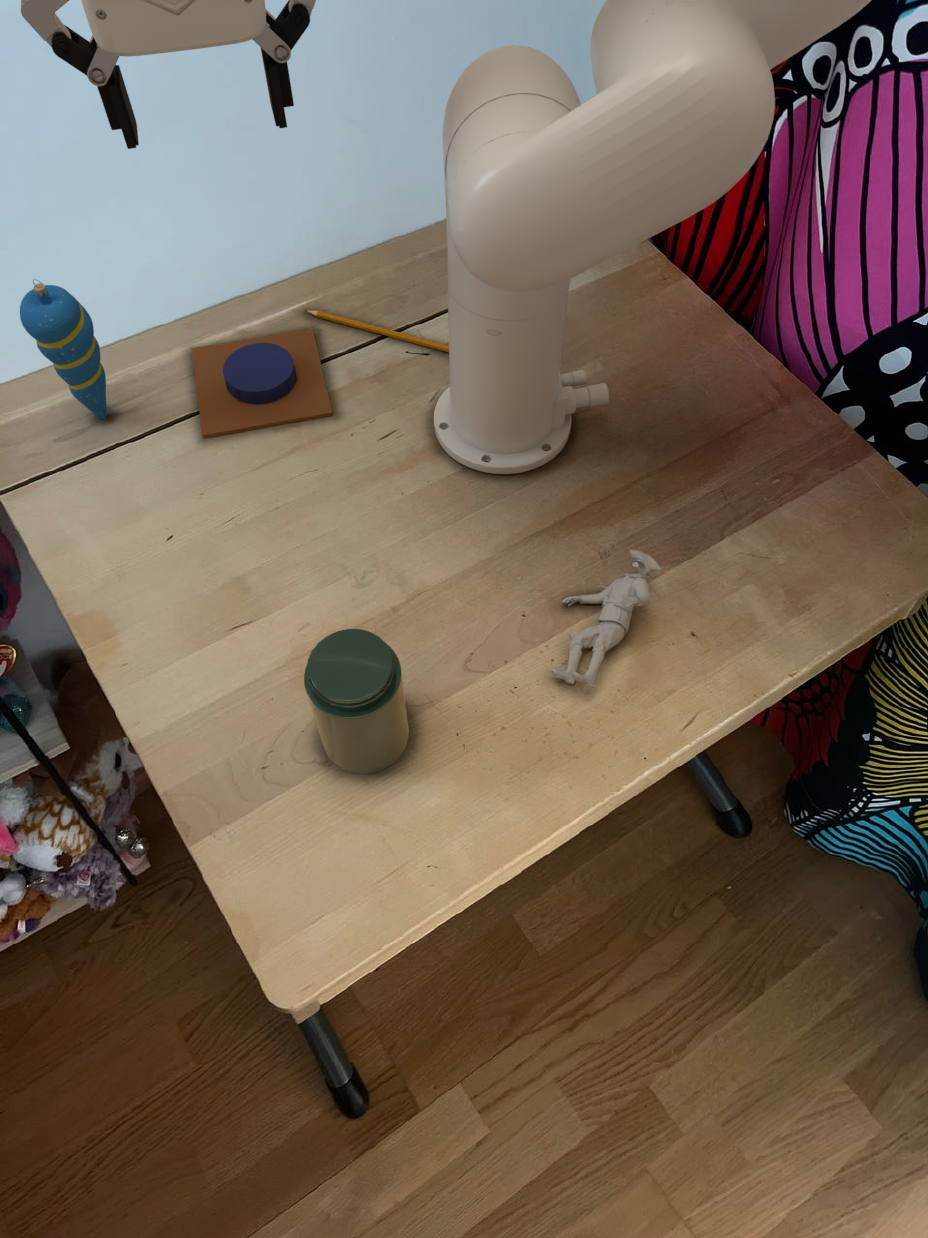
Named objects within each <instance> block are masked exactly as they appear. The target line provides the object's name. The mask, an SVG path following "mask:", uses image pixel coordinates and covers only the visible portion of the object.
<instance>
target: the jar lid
mask: <svg viewBox="0 0 928 1238" xmlns="http://www.w3.org/2000/svg"><path fill="white" fill-rule="evenodd" d="M223 375H224V378H225V383H226V387H227V390H228V392H230V394H231V395H232V396H233V397H235V398H236V399H238V400H239V401H242V402H245V403H249V404H265V403H270V402H273V401H276V400H278V399H280V398H282V397H284V396H285V395H287V394H288V393H289V392H290V391H291V390H292V388H293V387H294V385H295V382H296V379H297V376H296V370H295V365H294V361H293V358H292V356H291V354H290V353H289V352H288V351H287V350H286V349H284V348H282V347H280V346H278V345H275V344H270V343H255V344H250V345H247V346H244V347H241V348H239V349H238V350H236V351H234V352H233V353H232V354H231V355H230V356H229V357H228V358H227V359H226V361H225V363H224V366H223Z"/></svg>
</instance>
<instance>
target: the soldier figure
mask: <svg viewBox="0 0 928 1238" xmlns="http://www.w3.org/2000/svg"><path fill="white" fill-rule="evenodd" d="M628 551H629V554H630V557H631V564H632V567H633V568H634V570H635V571H636V573H628V572H626V573H622V574H621V575H619V577H618V578H617V579H615V580H613V581H612V582H611V583H610V584H609V585H608V586H607V587H606V588H605V589H604V590H602V591H601V592H599V593H593V594H580V595H574V596H573V595H571V596H568V597H566V598H564V599H563V600H562V601H561V603H565V604H568V605H567V607H571V606H572V605H573V604H575V603H577V602H578V603H580V604H581V605H582V604H589V605H601V607H602V609H601V612H600V615H599V617H598V619H597V620H598V622H599V623H598V624H597V625H593V626H588V627H586V628H585V629H583V630H581V631H579V632H578V633H576V634H574V636H573V638H572V639H571V641H570V644H569V646H568V662H567V665H566V669H565V670H558V669H556V668H552V669H551V670H550V672H551V674H552V675H553V677H555V678H557V679H559V680H563V681H564V682H565V683H566V684H568V685H575V682H579V683H582V684H583V685H584V686H586V687H587V688H591V689H592V688H593V689H594V688H595V687H594V686H595V684H596V675H597V674H598V672H599V669H600V667H601V665H602V663H603V662H604V659H605V656H606V653H607V651H610V650H611V649H612V648H613V647H615V646H617V645H618V644H619V643H620V642H621V641H622V640H623V638H624V637H625V636H626V635H627V634H628V631H629V629H630V624H631V618H632V615H633V609H634V608H635V607H646V606H648V605H649V603H650V602H651V601H650V600H651V599H650V585H649V583H648V580H647V579H646V578H649V577H650V576H651V573H653V572H656V571H657V572H662V568H661V567H660V565H659V563H658V562H657V561H656V560H655V558H653V557H652V556H650V555H649V554H647V553H644V551H640V550H636V549H635V550H634V549H629V550H628ZM590 648H592V650H591V651H592V656H591V659H590V662H589V666H588V669H587V671H586V672H585V673H583V674H582V673H581V674H580V673H579V672H578V668H579V665H580V662H581V658H582V656H583V649H590Z"/></svg>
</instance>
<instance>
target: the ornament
mask: <svg viewBox="0 0 928 1238" xmlns="http://www.w3.org/2000/svg"><path fill="white" fill-rule="evenodd" d="M34 281H36V282H38V283H35V282H34ZM32 283H33V285H34V286H33V287H32V289H31V290H29V291H28V292H27V293H26V294H25V295H24V296H23V297H22V299H21V302H20V305H19V318H20V322H21V325H22V327H23V328H24V330H25V332H27V333H28V335H29V336H30V337H32V338H33V339H34V340H35V341H36V346H37V348H38V350H39V352H40V353H41V354H42V355H43V356H44V357H45V358H46V359H47V360H49V361H50V362H51V363H52V364H53V368H54V370H55V372H56V374H57V375H58V377H60V379H62V380H63V382H65V383H66V384H67V385H68V388H69V391H70V393H71V394H72V396H73V397H74V398H75V399H76V400H77V401H78V402H79V403H80V404H81V405H83V406H84V407H85V408H86V409H87V410H88V411H90V412H91V413H92V414H94V415H95V417H97V418H98V419H100V420H105V419H106V418H107V417H108V407H107V406H108V405H107V378H106V377H107V376H106V372H105V368H104V366H103V365H102V362H101V348H100V345H99V342H98V340H97V338H96V336H95V334H94V333H95V329H94V323H93V320H92V316H91V315H90V314H89V312H88V311H87V309H86V308H85V307H84V306H83V305H82V304H81V303H80V302H79V301H78V300H77V298H76V297H75V296H73V295H72V294H71V293H70V292H69V291H68V290H67V289H65V288H63V287H62V286H59V285H54V284H44V283H42V281H40V280H39V279H36V278H35V279H33V281H32Z"/></svg>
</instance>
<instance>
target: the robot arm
mask: <svg viewBox="0 0 928 1238" xmlns="http://www.w3.org/2000/svg"><path fill="white" fill-rule="evenodd" d="M69 1H70V0H20V14H21V16H22V18H23V19H24V20H25V21H26V23H27V24H29V26H30V27H31V28H32V29H33V30H34V31H35V33H36V34H38V35H39V37H40V38H41V39H42V40H43V41H44V42H46V43H47V44H48V46H49V47H50V48H51V49H52V52H53V53H54V55H56V57H58V58H59V59H61V60H62V61H63V62H65V63H66V64H68V65H70V66H72V68H74V69H75V70H78V71H79V72H80V73H82V74H83V75H85V76H86V77H87V79H88V81H89V82H90V83H91V84H92V85H93V86H95V87H97V90H98V94H99V96H100V99H101V103H102V105H103V109H104V112H105V114H106V118H107V120H108V123H109V126H110V129H111V131H118V130H120V131H121V132H122V135H123V138H124V142H125V145H126V148H127V149H128V150H131V149H137V146H140V145H139V144H140V143H139V132H138V123H137V120H136V116H135V113H134V109H133V106H132V103H131V100H130V96H129V92H128V90H127V87H126V84H125V80H124V77H123V73H122V71H121V67H120V64H117V63H118V60H119V58H120V57H140V56H149V55H151V56H152V55H159V54H167V53H176V52H184V51H192V50H201V49H207V48H216V47H224V46H230V45H237V44H241V43H242V44H243V43H246V42H249V41H251V40H252V41H253V42H254V43H255V44H256V45H258V46H259V47H260V54H261V57H262V58H261V59H262V63H263V69H264V74H265V80H266V86H267V91H268V97H269V103H270V108H271V111H272V115H273V120H274V122H275V123H274V125H275V127H278V128H279V129H285V128H286V129H287V128H288V123H287V118H286V111H285V108H291V107H294V106H295V103H294V95H293V90H292V84H291V77H290V72H289V71H290V70H289V66H288V65H289V63H288V61H289V60H291V56H292V50H293V49H294V47H295V46H296V45H297V43H298V41H299V40H300V39H301V37H302V36H303V34H304V33H305V31H306V30H307V29H308V27H309V25H310V24H311V15H312V12H313V10H314V8H315V5H316V2H317V0H288V1H286V3H285V4H284V7H283V8H282V9H281V11H280V12H279V14H278V15H277V17H275V16H274V15H273V14H272V13H271V12H269V10H268V9H267V8H266V1H265V0H80V1H81V4H82V8H83V11H84V13H85V17H86V20H87V23H88V26H89V29H90V32H91V34H92V35H91V38H90V40H88V39H86V38H85V37H83V36H82V35H80V34H79V33H77V31H74V30H73V29H71V28H70V27H69V26H67V25H66V24H64V23H63V22H62V21H61V18H59V16H58V15H57V14H56V12H57V11H58V10H60V9H61V8H62V7H63V6H64V5H66V4H67V3H68V2H69ZM871 1H872V0H605V1H604V3H603V5H602V6H601V8H600V10H599V12H598V13H597V15H596V18H595V21H594V24H593V27H592V32H591V36H590V61H591V69H592V77H593V82H594V83H593V84H594V87H595V92H596V95H594V96H593V97H591V98H590V99H588V100H586V101H585V102H583V103H581V101H580V97H579V95H578V92H577V89H576V88H575V86H574V84H573V82H572V80H571V79H570V77H569V75H568V74H567V73H566V72H565V70H564V69H563V67H562V66H561V65H559V63H558V62H556V61H555V59H553V58H552V57H550V56H549V55H548V54H546V53H544V52H542V51H540V50H538V49H536V48H533V47H530V46H525V45H513V44H512V45H502V46H500V47H496V48H493V49H491V50H488V51H486V52H485V53H483V54H481V55H480V56H477V58H475V59H474V60H473V61H471V63H470V64H468V66H467V67H466V68H465V69H464V71H462V73H461V74H460V76H459V77H458V78H457V80H456V82H455V84H454V85H453V86H452V90H451V91H450V93H449V97H448V99H447V102H446V105H445V110H444V114H443V121H442V156H443V171H444V190H445V191H444V195H445V217H446V219H445V220H446V260H447V261H446V262H447V281H446V282H447V320H448V321H447V322H448V324H447V326H448V327H447V328H448V346H449V352H448V365H449V367H448V368H449V386H447V387H446V388H445V390H444V391H443V392H442V393H441V394H440V396H439V397H438V400H437V401H436V404H435V406H434V412H433V429H434V433H435V438H436V439H437V441H438V443H439V445H440V446H441V448H442V449H443V451H445V452H446V453H447V455H448V456H450V457H451V458H453V460H455V461H456V462H458V463H460V464H462V465H464V466H465V467H467V468H470V469H471V470H475V471H479V472H483V473H488V474H492V475H493V474H494V475H512V474H521V473H525V472H529V471H532V470H534V469H537V468H540V467H541V466H543V465H546V464H548V463H549V462H550V461H552V460H553V459H555V458H556V456H557V455H559V453H560V452H562V450H563V449H564V447H565V445H567V442H568V440H569V437H570V434H571V429H572V428H571V427H572V415H573V414H575V413H576V411H577V409H581V408H585V407H587V408H594V407H600V406H605V405H608V404H609V401H610V393H609V387H608V385H607V384H606V383H605V382H600V383H597V384H595V383H594V384H590V385H587V381H588V380H587V379H588V378H587V377H588V376H587V373H586V370H585V369H580V370H579V369H578V370H572V371H569V372H565V373H561V372H560V371H561V362H562V354H563V343H564V337H565V326H566V317H567V308H568V307H567V306H568V300H569V299H568V297H569V290H570V284H571V279H572V278H574V277H576V276H578V275H580V274H583V273H585V272H587V271H588V270H592V269H593V268H595V267H596V266H599V265H601V264H602V263H604V262H606V261H608V260H610V259H612V258H615V257H616V256H618V255H619V254H622V253H624V252H625V251H628V250H629V249H631V248H633V247H635V246H637V245H639V244H641V243H643V242H644V241H646V240H649V239H650V238H653V237H654V236H656V235H658V234H660V233H662V232H663V231H666V230H668V229H669V228H671V227H673V226H676V225H677V224H679V223H681V222H683V221H684V220H685V221H686V219H688V218H691V217H692V216H694V215H695V214H698V213H699V212H701V211H702V210H704V209H706V208H708V207H709V206H711V205H712V204H714V203H715V202H716V201H718V200H719V199H720V198H722V197H723V196H724V195H726V194H727V193H728V192H729V191H730V190H731V189H732V188H733V187H734V186H736V184H738V183H739V181H741V180H742V179H743V177H744V176H745V175H746V174H747V173H748V172H749V170H750V169H751V168H752V167H753V165H754V164H755V163H756V161H757V160H758V158H759V156H760V155H761V153H762V151H763V149H764V147H765V145H766V143H767V142H768V139H769V137H770V133H771V130H772V125H773V122H774V118H775V110H776V96H775V86H774V79H773V75H772V72H771V70H773V69H774V68H775V67H777V66H778V65H780V64H782V63H784V62H785V61H786V60H788V59H790V58H791V57H793V56H794V55H796V54H798V53H800V52H801V51H802V50H804V49H805V48H807V47H809V46H810V45H812V44H813V43H815V42H816V41H818V40H819V39H820V38H823V37H824V36H825V35H827V34H829V33H831V32H832V31H833V30H835V29H837V28H838V27H840V26H841V25H842V24H844V23H846V22H847V21H848V20H850V19H851V18H852V17H854V16H855V15H856V14H858V13H859V12H860V11H861V10H863V8H865V7H866V6H867V5H868V4H870V2H871ZM584 385H585V386H584ZM579 386H584V387H579ZM574 387H579V388H575V389H574Z"/></svg>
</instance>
